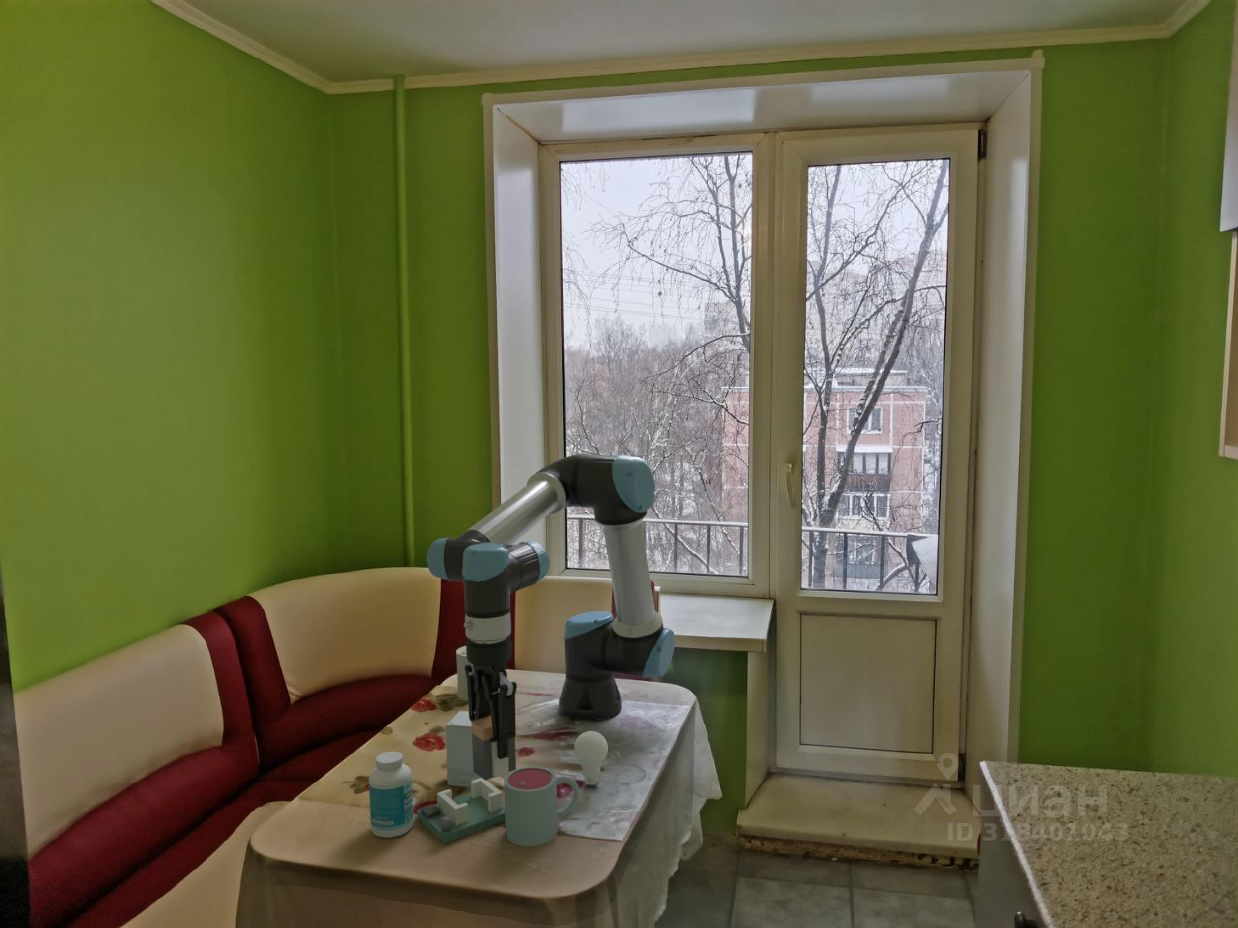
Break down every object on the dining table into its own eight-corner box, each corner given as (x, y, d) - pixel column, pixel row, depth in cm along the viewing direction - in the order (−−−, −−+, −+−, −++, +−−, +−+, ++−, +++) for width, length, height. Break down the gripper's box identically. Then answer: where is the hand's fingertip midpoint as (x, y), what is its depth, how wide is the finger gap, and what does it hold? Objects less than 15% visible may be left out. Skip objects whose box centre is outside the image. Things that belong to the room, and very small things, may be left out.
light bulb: (613, 780, 170) (612, 727, 169) (601, 796, 164) (600, 741, 163) (582, 775, 173) (581, 723, 171) (569, 791, 166) (568, 737, 165)
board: (484, 793, 166) (484, 771, 165) (513, 817, 157) (513, 793, 157) (417, 817, 157) (416, 794, 157) (444, 843, 149) (443, 819, 148)
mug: (513, 850, 146) (511, 795, 145) (500, 824, 155) (498, 771, 154) (588, 833, 151) (587, 779, 150) (571, 808, 160) (570, 757, 159)
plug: (503, 760, 149) (501, 711, 148) (516, 769, 146) (514, 719, 145) (473, 771, 146) (471, 721, 145) (485, 780, 143) (483, 729, 141)
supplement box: (482, 788, 168) (479, 727, 166) (446, 785, 169) (444, 724, 168) (494, 771, 175) (492, 711, 174) (460, 768, 177) (458, 709, 175)
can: (450, 694, 217) (448, 648, 215) (480, 684, 223) (479, 639, 221) (470, 704, 210) (468, 657, 208) (501, 694, 216) (499, 648, 215)
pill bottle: (414, 835, 151) (411, 763, 150) (371, 843, 149) (367, 769, 148) (412, 814, 158) (409, 745, 157) (371, 821, 156) (367, 751, 155)
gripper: (444, 629, 147) (450, 758, 150) (494, 655, 134) (500, 795, 137) (482, 620, 152) (487, 745, 155) (535, 644, 139) (539, 780, 141)
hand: (493, 768), depth 146 cm, fingers closed on plug, 4 cm apart
